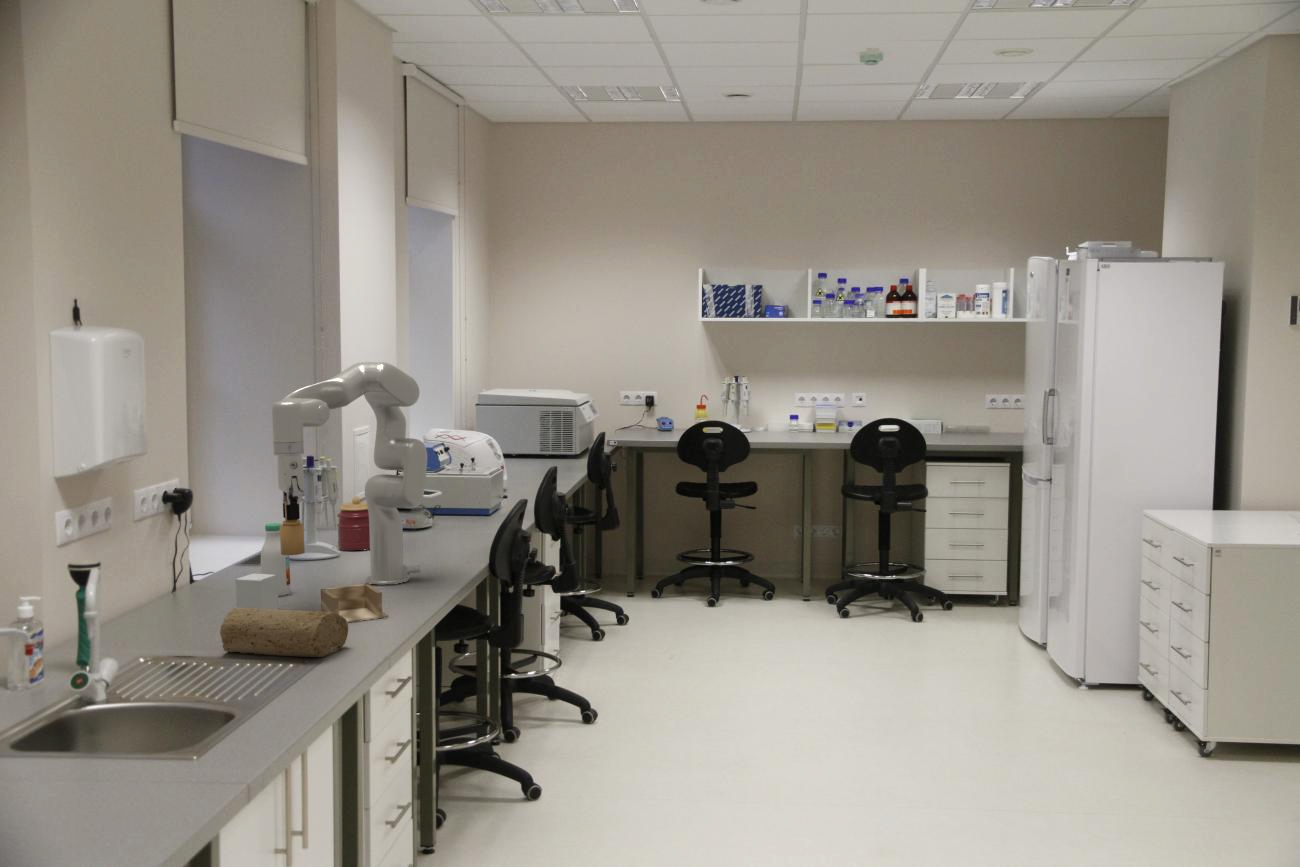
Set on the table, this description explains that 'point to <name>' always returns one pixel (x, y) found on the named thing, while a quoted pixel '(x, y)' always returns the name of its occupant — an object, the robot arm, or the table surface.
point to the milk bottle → (275, 559)
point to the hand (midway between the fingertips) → (291, 518)
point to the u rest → (353, 602)
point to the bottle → (291, 536)
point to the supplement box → (257, 591)
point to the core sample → (283, 632)
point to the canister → (354, 526)
